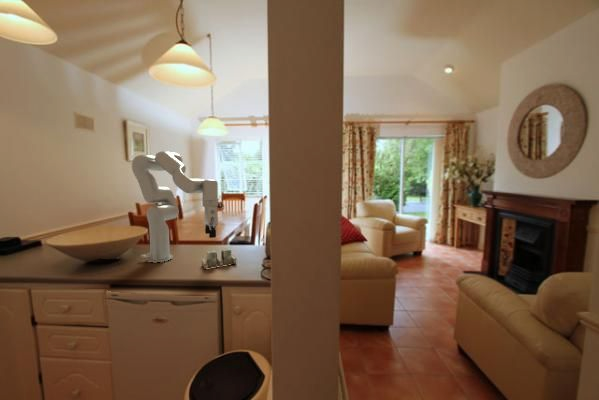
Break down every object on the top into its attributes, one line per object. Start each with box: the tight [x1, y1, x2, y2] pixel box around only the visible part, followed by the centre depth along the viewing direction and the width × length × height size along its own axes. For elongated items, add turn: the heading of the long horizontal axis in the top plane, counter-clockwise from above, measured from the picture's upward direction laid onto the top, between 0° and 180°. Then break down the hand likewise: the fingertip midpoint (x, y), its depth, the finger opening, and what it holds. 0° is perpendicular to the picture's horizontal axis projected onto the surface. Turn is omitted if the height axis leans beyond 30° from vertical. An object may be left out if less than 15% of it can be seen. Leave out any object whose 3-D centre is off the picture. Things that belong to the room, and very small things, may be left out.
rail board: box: [201, 247, 238, 269], centre depth 132 cm, size 16×8×8 cm, turn 122°
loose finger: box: [206, 250, 218, 266], centre depth 130 cm, size 4×4×7 cm
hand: (210, 235), depth 129 cm, fingers open, 9 cm apart
